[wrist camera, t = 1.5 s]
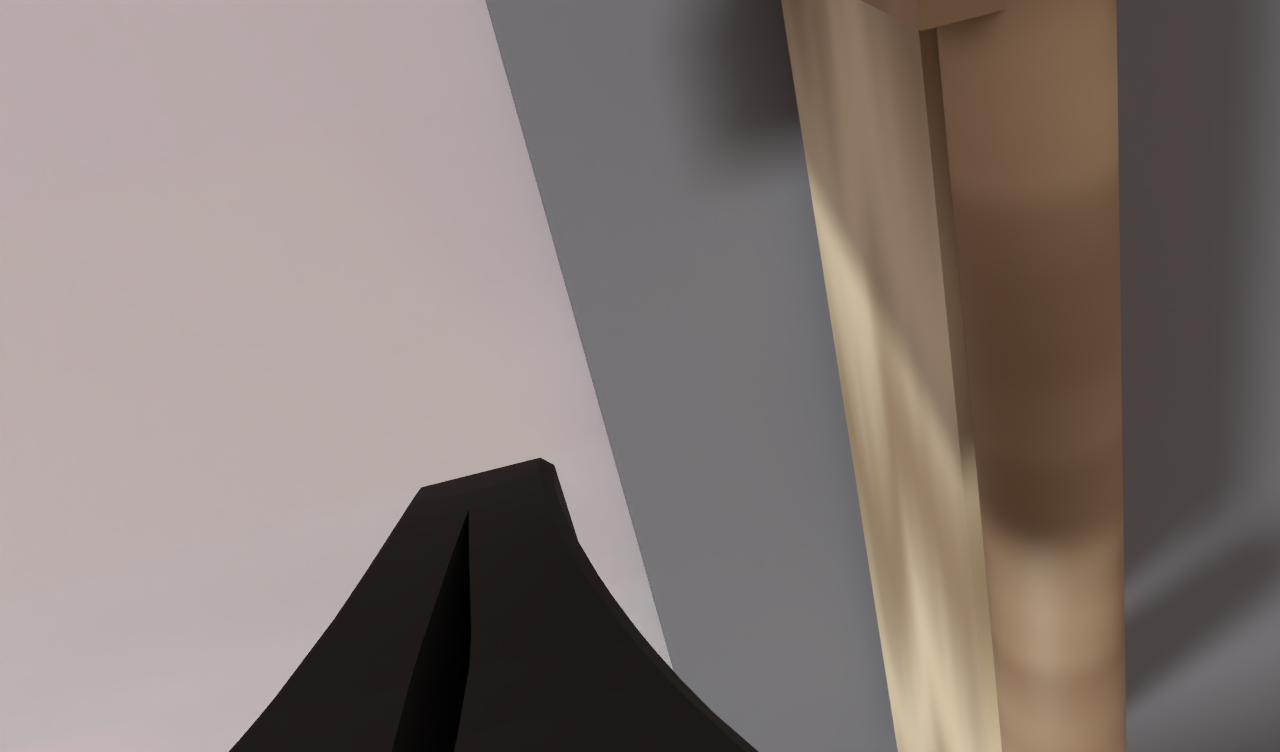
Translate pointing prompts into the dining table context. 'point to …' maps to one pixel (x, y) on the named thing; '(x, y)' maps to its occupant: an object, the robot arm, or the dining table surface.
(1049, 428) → the gate
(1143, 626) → the mat
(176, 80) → the dining table surface
